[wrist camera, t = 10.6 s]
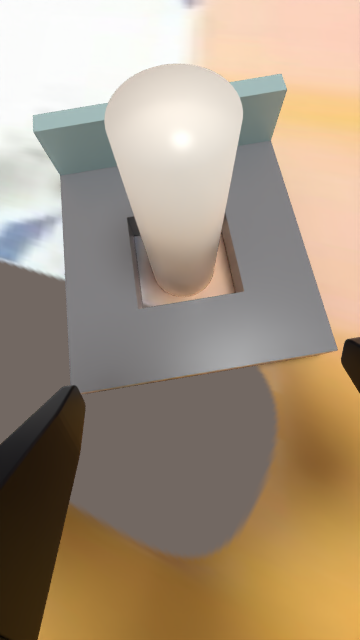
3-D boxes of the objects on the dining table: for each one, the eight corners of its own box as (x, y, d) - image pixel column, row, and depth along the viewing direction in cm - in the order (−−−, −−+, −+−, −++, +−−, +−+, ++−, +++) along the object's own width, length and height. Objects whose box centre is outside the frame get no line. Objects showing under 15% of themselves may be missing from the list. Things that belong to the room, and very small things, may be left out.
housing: (319, 354, 15) (378, 339, 10) (86, 393, 15) (37, 396, 10) (258, 152, 19) (281, 73, 14) (72, 183, 19) (32, 115, 14)
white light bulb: (199, 305, 16) (211, 189, 7) (143, 283, 17) (79, 145, 7) (222, 253, 17) (262, 83, 8) (168, 233, 18) (141, 51, 8)
